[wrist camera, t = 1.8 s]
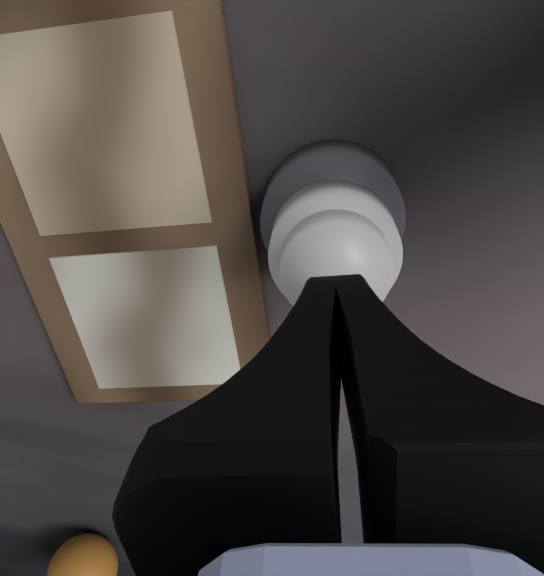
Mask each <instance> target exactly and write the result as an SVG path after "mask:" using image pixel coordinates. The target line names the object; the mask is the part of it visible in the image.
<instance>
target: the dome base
mask: <svg viewBox="0 0 544 576" xmlns="http://www.w3.org/2000/svg"><path fill="white" fill-rule="evenodd" d="M328 180H344V181H350V182H354V183H357V184H360V185H362V186H364V187H366V188H368V189H370V190H371V191H373V192H374V193H376V194H377V195H378V196H379V197H380V198H381V199H382V200H383V201H384V202H385V204H386V205H387V206H388V208H389V210H390V212H391V213H392V216H393V219H394V222H395V224H396V227H397V230H398V232H399V235H400V238H401V242H402V239H403V236H404V232H405V227H406V210H405V205H404V201H403V198H402V195H401V193H400V190H399V188H398V186H397V184H396V182H395V179H394V177H393V175H392V173H391V171H390V170H389V168H388V167H387V165H386V164H385V163H384V162H383V161H382V159H381V158H380V157H379V156H377V155H376V154H375V153H373V152H372V151H371V150H369V149H367V148H366V147H364V146H362V145H359V144H356V143H353V142H349V141H345V140H323V141H317V142H314V143H311V144H308V145H306V146H303V147H301V148H299V149H298V150H296V151H295V152H293V153H292V154H290V155H289V156H288V157H287V158H285V159H284V161H283V162H282V163H281V164H280V165H279V166H278V168H277V169H276V170H275V172H274V173H273V175H272V177H271V179H270V182H269V184H268V187H267V191H266V194H265V198H264V202H263V205H262V210H261V217H260V228H261V235H262V240H263V242H264V245H265V248H266V250H267V252H268V250H269V244H270V239H271V234H272V229H273V225H274V221H275V219H276V216H277V214H278V212H279V211H280V209H281V207H282V206H283V205H284V203H285V202H286V201H287V200H288V199H289V198H290V197H291V196H292V195H294V194H295V193H296V192H298V191H299V190H301V189H303V188H304V187H307V186H309V185H311V184H314V183H317V182H321V181H328Z"/></svg>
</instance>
